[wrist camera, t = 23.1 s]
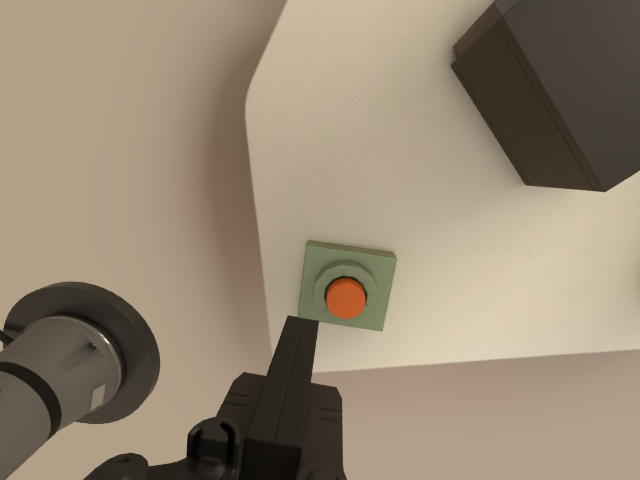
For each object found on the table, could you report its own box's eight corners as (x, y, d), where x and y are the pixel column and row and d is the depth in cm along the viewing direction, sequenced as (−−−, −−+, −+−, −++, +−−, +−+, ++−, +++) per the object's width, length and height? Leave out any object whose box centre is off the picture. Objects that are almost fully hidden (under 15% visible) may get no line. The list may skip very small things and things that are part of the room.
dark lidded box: (450, 65, 29) (502, 16, 20) (583, -41, 27) (717, -157, 17) (525, 185, 32) (605, 192, 22) (656, 98, 29) (811, 63, 19)
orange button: (324, 308, 33) (324, 316, 31) (329, 274, 32) (329, 280, 30) (360, 314, 32) (362, 322, 31) (367, 280, 31) (368, 286, 30)
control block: (299, 310, 37) (295, 326, 33) (308, 240, 35) (304, 249, 31) (379, 322, 36) (384, 340, 32) (393, 252, 34) (400, 263, 30)
